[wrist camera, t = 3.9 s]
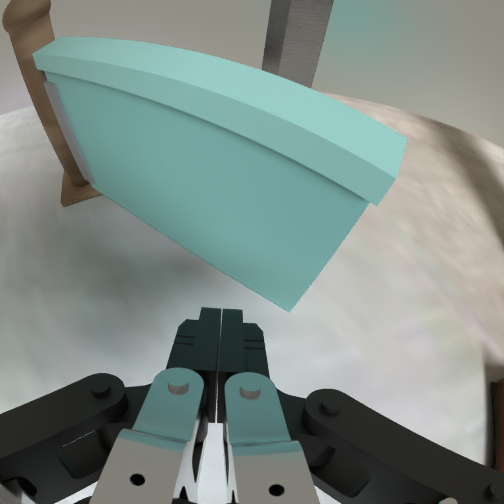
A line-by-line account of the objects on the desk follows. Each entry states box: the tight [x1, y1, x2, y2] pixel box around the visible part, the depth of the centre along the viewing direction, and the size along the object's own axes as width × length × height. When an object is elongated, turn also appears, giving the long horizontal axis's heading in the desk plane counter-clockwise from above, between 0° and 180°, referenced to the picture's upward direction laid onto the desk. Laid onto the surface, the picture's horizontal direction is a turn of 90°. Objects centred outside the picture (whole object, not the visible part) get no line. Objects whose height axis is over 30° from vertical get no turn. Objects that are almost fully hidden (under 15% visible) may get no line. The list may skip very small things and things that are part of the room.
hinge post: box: [2, 0, 103, 207], centre depth 12 cm, size 4×4×16 cm
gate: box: [32, 37, 408, 312], centre depth 12 cm, size 16×2×11 cm, turn 58°
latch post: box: [262, 0, 334, 89], centre depth 18 cm, size 4×4×13 cm
